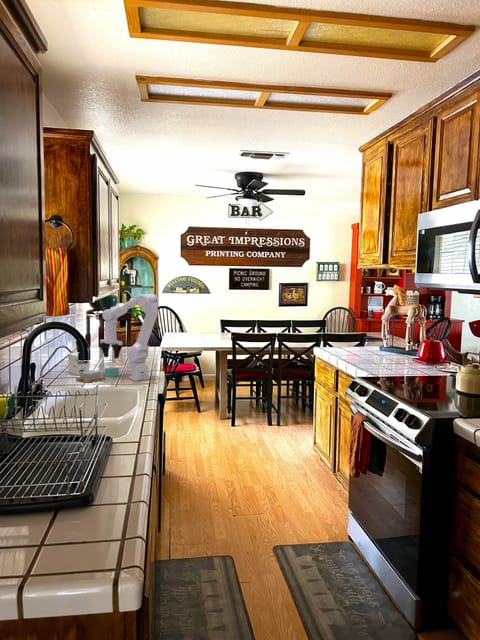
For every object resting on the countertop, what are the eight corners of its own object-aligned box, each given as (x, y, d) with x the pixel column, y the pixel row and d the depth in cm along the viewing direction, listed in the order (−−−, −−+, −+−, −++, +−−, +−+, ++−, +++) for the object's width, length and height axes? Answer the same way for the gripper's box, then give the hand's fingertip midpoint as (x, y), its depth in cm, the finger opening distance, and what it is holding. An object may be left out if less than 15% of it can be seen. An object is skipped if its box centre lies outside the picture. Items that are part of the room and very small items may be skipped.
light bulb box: (89, 373, 258) (89, 354, 258) (78, 375, 254) (77, 355, 253) (79, 371, 266) (79, 352, 265) (68, 373, 261) (67, 353, 260)
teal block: (118, 375, 255) (118, 368, 255) (111, 377, 251) (111, 369, 250) (111, 374, 258) (111, 367, 257) (104, 376, 253) (104, 368, 253)
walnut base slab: (105, 381, 243) (105, 376, 243) (89, 385, 235) (89, 379, 234) (91, 379, 248) (91, 374, 248) (76, 382, 240) (75, 377, 239)
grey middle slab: (100, 376, 242) (100, 371, 242) (89, 379, 236) (89, 374, 236) (91, 375, 246) (90, 370, 246) (80, 377, 240) (79, 372, 240)
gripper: (126, 332, 252) (126, 357, 253) (106, 330, 260) (107, 355, 261) (116, 333, 246) (116, 359, 247) (96, 331, 254) (97, 357, 255)
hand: (111, 357), depth 254 cm, fingers open, 7 cm apart
